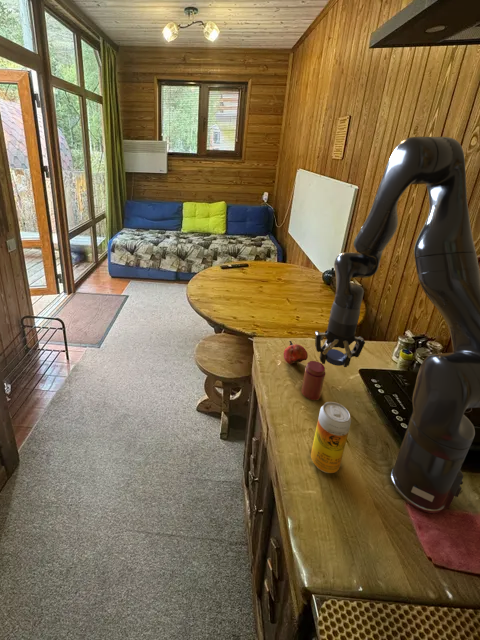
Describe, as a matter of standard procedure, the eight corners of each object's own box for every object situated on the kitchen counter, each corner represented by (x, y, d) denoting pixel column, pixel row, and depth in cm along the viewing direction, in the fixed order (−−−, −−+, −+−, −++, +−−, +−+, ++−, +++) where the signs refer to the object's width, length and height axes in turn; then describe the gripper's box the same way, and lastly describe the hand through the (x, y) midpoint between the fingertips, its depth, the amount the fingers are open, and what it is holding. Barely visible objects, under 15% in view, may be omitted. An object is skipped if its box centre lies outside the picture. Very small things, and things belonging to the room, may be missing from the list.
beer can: (313, 473, 68) (325, 421, 62) (307, 448, 73) (317, 398, 68) (342, 477, 67) (356, 425, 62) (334, 451, 72) (346, 402, 67)
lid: (323, 351, 99) (324, 347, 98) (344, 356, 97) (345, 351, 96) (324, 363, 94) (325, 358, 93) (346, 367, 92) (347, 363, 91)
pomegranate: (308, 373, 101) (301, 343, 106) (314, 368, 95) (306, 336, 100) (285, 374, 101) (279, 344, 107) (290, 369, 95) (283, 338, 100)
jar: (317, 386, 92) (322, 360, 89) (323, 400, 87) (329, 373, 84) (299, 385, 92) (303, 359, 89) (304, 399, 87) (309, 372, 84)
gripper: (320, 320, 88) (311, 368, 94) (375, 327, 85) (362, 376, 91) (316, 307, 95) (307, 353, 101) (366, 313, 92) (354, 359, 98)
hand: (333, 363), depth 96 cm, fingers closed on lid, 5 cm apart
